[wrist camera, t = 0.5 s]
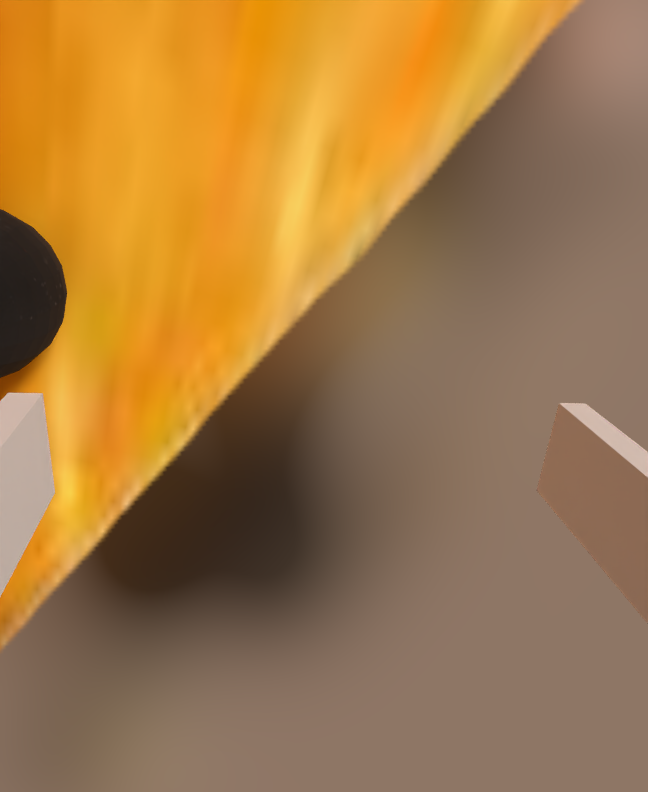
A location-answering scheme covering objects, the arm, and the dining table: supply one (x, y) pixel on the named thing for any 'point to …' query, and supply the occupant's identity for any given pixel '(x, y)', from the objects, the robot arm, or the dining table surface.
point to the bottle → (27, 294)
